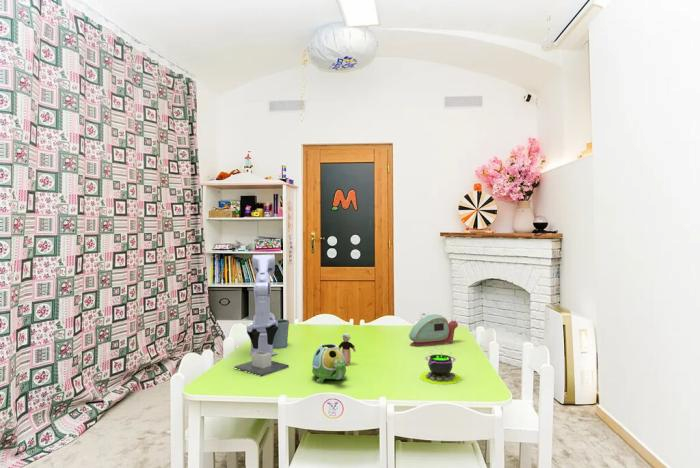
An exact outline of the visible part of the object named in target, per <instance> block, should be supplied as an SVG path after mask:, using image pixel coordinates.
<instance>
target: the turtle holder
mask: <svg viewBox="0 0 700 468" xmlns="http://www.w3.org/2000/svg"><path fill="white" fill-rule="evenodd" d="M338 347H339V346H338V345H336V344H335V343H324V344H321V345H319V347H318V348H317V349H316V351H315V352H314V354H313V358H312V363H311V366H312V370H311V372H312V374H313V376H314V377H315V378H317V379H316V382H317V383H318V384H323V383H324V380H325V379H327V380H336V381H337V380H342V381H345V380H346V379H347V378H348V377H347V376H346V372H347V365H346V361H345V358H344V355H343V353H342V349H339V348H338Z"/></svg>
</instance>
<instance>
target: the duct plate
mask: <svg viewBox="0 0 700 468" xmlns="http://www.w3.org/2000/svg"><path fill="white" fill-rule="evenodd" d="M289 367H290V366H289V364H288V363H282V362H278V361H274V360H271V366H269V367H266V368H259V367H256V366H252V360H250V361H248V362H245V363H240V364H237V365H235V366H233V369H234V368H237V369H240V370H243V371H242V372H244V371H247V372H246V373H248V372H250V373H249V374H251V373H253V374H252V375H255V374H256V375H255V376H258V375H260V376H259V377H263V376H264V377H265V376H267V375H270V374H272V373H276V372H279V371H282V370H285V369H287V368H289ZM237 369H236V370H237ZM240 370H239V371H240Z"/></svg>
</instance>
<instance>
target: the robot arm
mask: <svg viewBox="0 0 700 468" xmlns="http://www.w3.org/2000/svg"><path fill="white" fill-rule="evenodd" d="M275 258H276V255H275V254H274V253H272V254H253V255H252V259H251V260H252V261H251V263H252V264H251V265H252V270H253V271H252V272H253V274H254V275H255V282H254V284H253V296H254V313H255V314H254V316H253V317H252V324H250V325H247V326H246V334H247V335H248V337H249V338H250V339H249V340H250V352H249V355H250V356H252V353H253V352H257V351H264V352H269V353H271V357H272V356H274V355H277V354H278V353H277V352H274V351H273V340H274V336H275V334H276V332H277V330H278V327H277V325H278V321H276V320H275V319H276V316H275V314H273V313H272V312H271V303H270V302H271V298H270V297H271V295H272V293H271V292H272V291H271V289H272V288H271V285H272V284H271V276H272V275H274V274H275V267H276V259H275Z"/></svg>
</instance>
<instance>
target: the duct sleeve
mask: <svg viewBox="0 0 700 468" xmlns="http://www.w3.org/2000/svg"><path fill="white" fill-rule="evenodd" d="M251 361H252V366H256V367H259V368H266V367H269V366H271V361H272V356H271V353H269V352H264V351H257V352H253V353H252V355H251Z"/></svg>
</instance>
